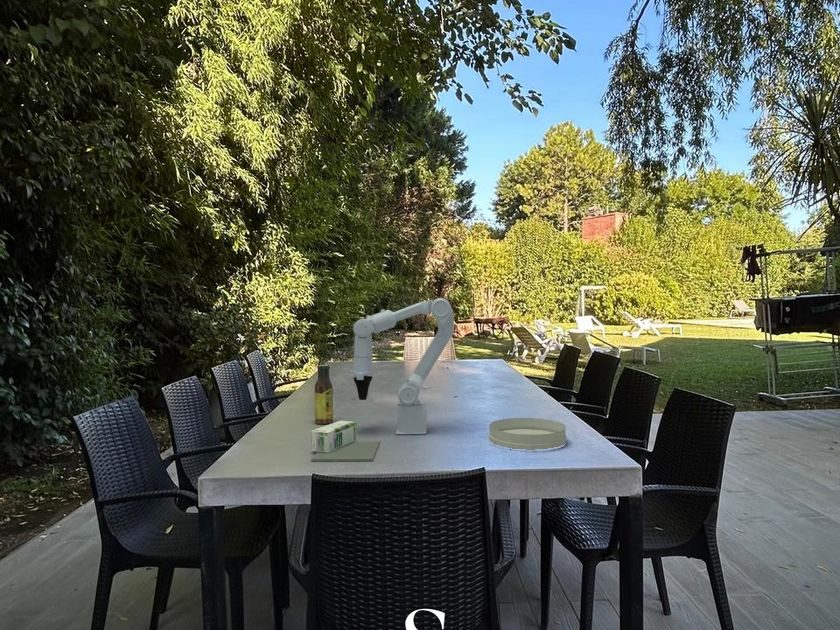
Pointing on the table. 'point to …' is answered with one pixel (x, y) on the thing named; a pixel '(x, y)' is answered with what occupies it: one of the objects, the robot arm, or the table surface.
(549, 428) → the dish
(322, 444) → the syrup box
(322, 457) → the mat
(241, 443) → the table surface
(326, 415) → the sauce bottle
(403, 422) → the robot arm
